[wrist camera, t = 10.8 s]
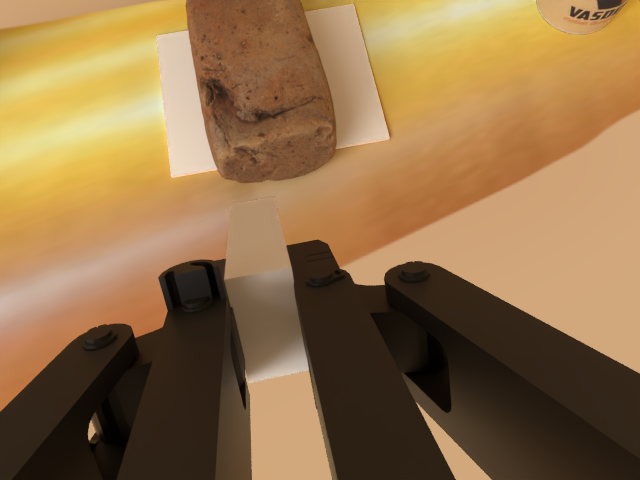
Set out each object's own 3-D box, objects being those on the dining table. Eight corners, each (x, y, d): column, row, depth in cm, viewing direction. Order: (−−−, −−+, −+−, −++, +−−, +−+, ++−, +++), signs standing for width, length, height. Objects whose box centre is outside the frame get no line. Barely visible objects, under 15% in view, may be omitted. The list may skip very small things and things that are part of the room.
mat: (172, 177, 45) (170, 175, 44) (157, 38, 50) (155, 35, 49) (389, 139, 46) (389, 137, 45) (353, 6, 51) (353, 3, 50)
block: (344, 168, 44) (293, -2, 51) (344, 122, 37) (285, -69, 44) (225, 198, 44) (189, 23, 50) (202, 157, 37) (163, -41, 43)
